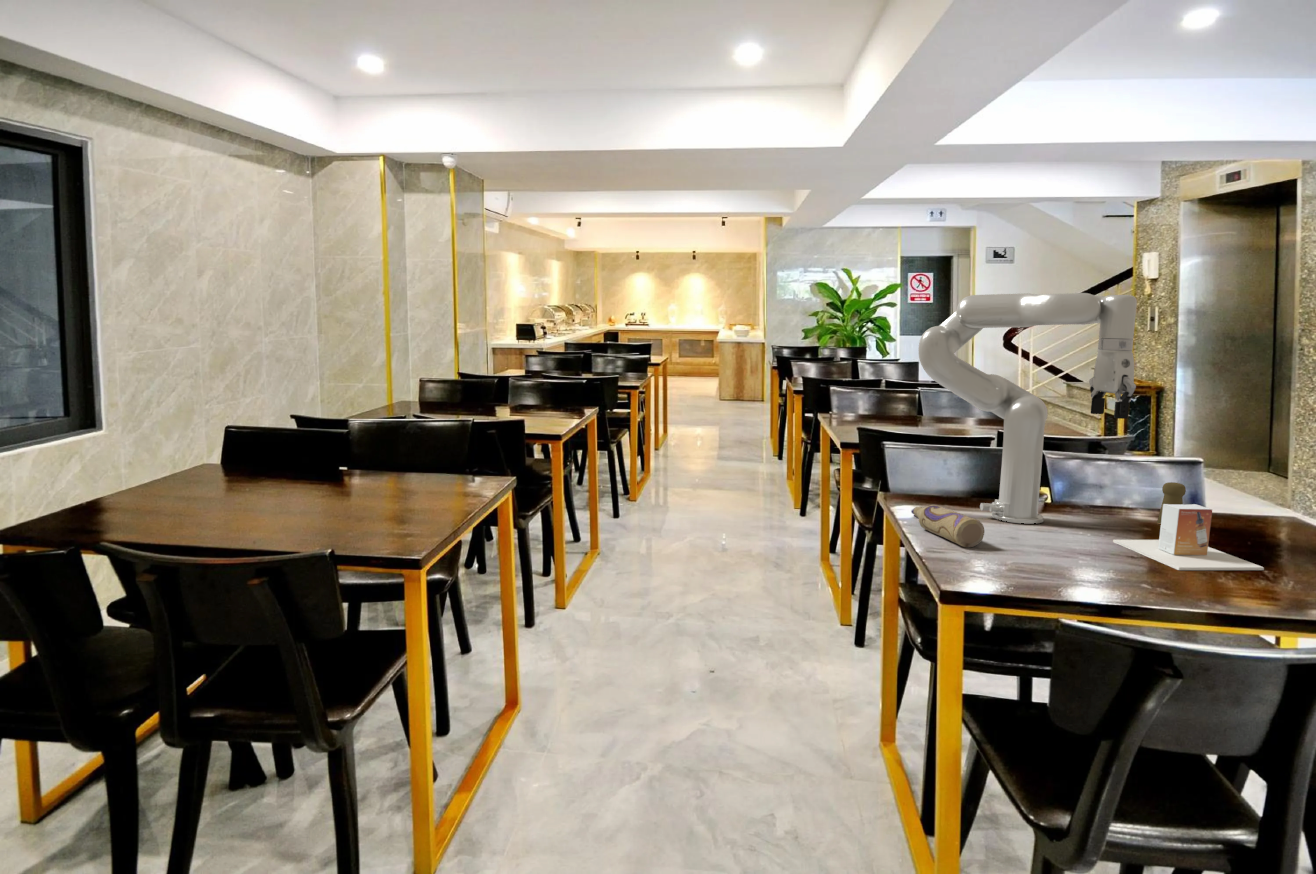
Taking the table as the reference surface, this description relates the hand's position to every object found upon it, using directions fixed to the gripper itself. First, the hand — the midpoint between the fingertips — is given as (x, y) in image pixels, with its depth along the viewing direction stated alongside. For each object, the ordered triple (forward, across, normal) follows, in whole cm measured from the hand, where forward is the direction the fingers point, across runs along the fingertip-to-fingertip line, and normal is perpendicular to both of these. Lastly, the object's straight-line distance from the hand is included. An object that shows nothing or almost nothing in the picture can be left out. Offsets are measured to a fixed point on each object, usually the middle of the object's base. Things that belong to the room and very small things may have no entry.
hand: (1108, 416), depth 217 cm
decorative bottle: (+29, -6, +42) cm, 51 cm away
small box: (+28, -25, -5) cm, 37 cm away
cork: (+28, +4, -22) cm, 36 cm away
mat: (+28, -25, -5) cm, 38 cm away
